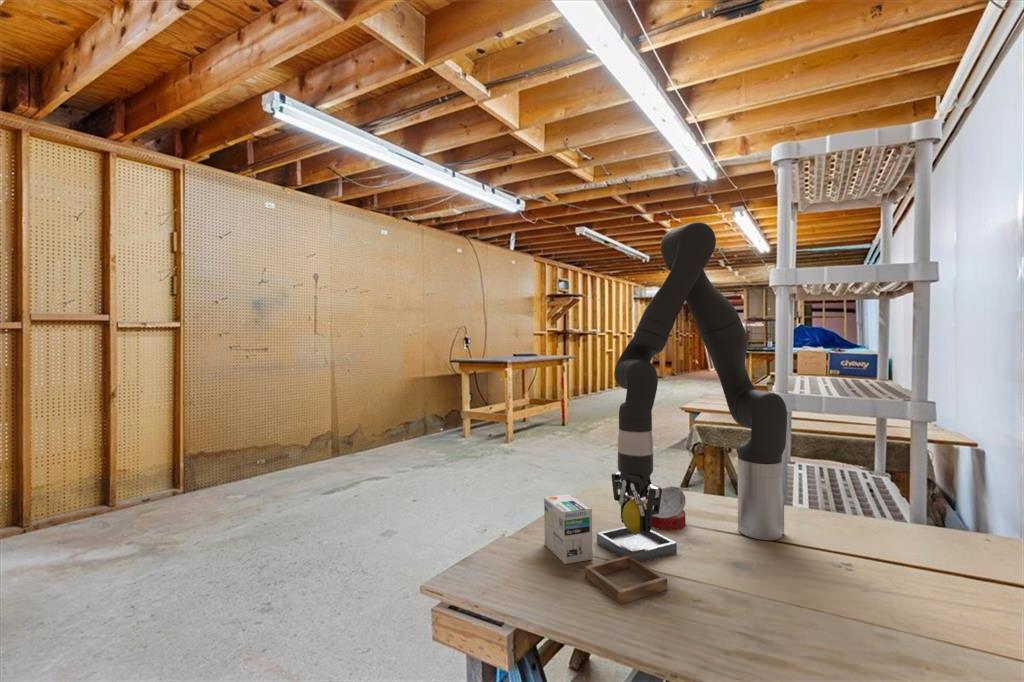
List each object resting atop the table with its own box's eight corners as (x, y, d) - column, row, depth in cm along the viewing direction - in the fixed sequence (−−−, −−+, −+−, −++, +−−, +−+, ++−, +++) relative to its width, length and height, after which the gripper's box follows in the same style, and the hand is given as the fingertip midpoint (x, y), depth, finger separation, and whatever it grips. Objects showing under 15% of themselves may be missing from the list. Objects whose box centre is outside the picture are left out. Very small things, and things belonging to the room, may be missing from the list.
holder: (628, 565, 97) (628, 555, 97) (667, 589, 88) (667, 578, 88) (585, 577, 93) (585, 566, 93) (620, 604, 83) (620, 592, 83)
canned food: (686, 546, 117) (697, 517, 112) (644, 541, 117) (654, 512, 112) (675, 509, 127) (684, 481, 122) (636, 505, 127) (645, 477, 122)
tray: (638, 532, 114) (638, 523, 114) (676, 553, 103) (676, 542, 103) (596, 542, 108) (596, 532, 108) (632, 565, 98) (632, 554, 98)
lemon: (650, 532, 107) (650, 496, 107) (646, 541, 102) (646, 504, 102) (625, 528, 109) (625, 492, 109) (619, 537, 104) (619, 500, 104)
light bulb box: (593, 560, 100) (593, 508, 100) (564, 565, 98) (564, 512, 98) (570, 540, 110) (569, 492, 110) (543, 544, 108) (542, 496, 108)
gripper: (672, 455, 101) (672, 536, 101) (627, 442, 114) (627, 513, 114) (644, 459, 97) (644, 543, 97) (601, 445, 110) (601, 519, 110)
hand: (635, 526), depth 106 cm, fingers closed on lemon, 5 cm apart
